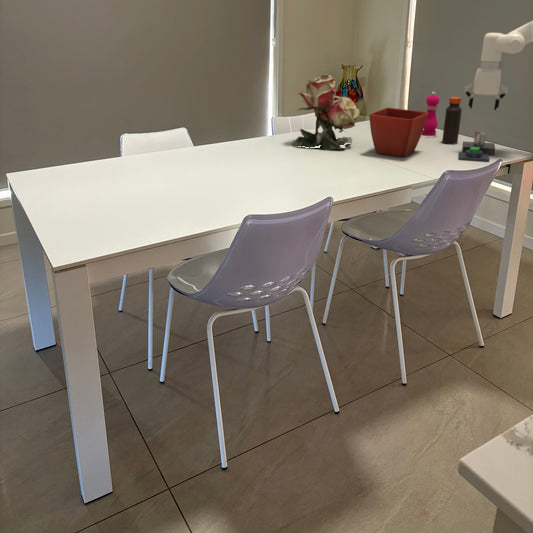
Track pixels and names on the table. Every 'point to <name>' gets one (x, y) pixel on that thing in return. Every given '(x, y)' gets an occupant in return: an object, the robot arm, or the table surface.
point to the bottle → (452, 121)
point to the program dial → (479, 138)
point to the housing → (473, 156)
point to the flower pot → (396, 130)
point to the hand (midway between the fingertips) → (482, 108)
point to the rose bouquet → (327, 114)
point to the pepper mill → (431, 115)
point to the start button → (474, 149)
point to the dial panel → (480, 147)
